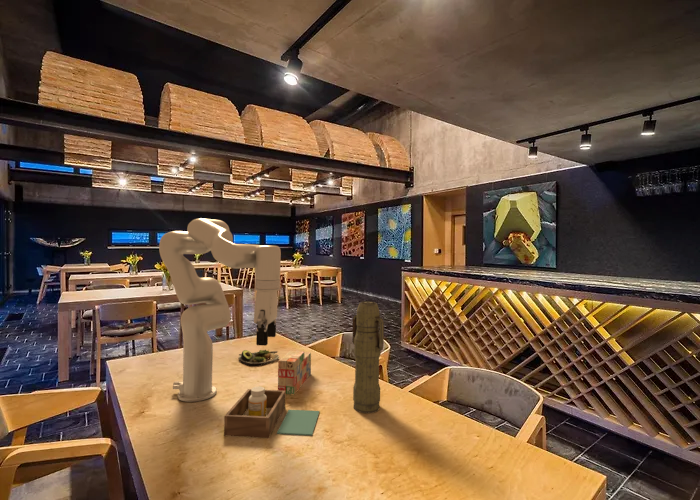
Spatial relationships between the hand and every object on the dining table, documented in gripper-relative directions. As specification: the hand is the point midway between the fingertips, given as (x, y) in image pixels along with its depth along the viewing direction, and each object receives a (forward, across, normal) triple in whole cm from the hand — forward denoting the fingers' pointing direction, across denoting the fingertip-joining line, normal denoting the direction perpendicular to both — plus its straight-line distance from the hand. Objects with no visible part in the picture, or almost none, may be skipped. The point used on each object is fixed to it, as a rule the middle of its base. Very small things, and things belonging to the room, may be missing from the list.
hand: (266, 340), depth 105 cm
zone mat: (+24, +2, +11) cm, 26 cm away
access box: (+24, +2, -2) cm, 24 cm away
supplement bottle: (+24, +2, -2) cm, 24 cm away
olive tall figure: (+24, -9, +32) cm, 41 cm away
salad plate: (+25, -55, -19) cm, 63 cm away
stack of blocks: (+24, -28, +4) cm, 37 cm away
